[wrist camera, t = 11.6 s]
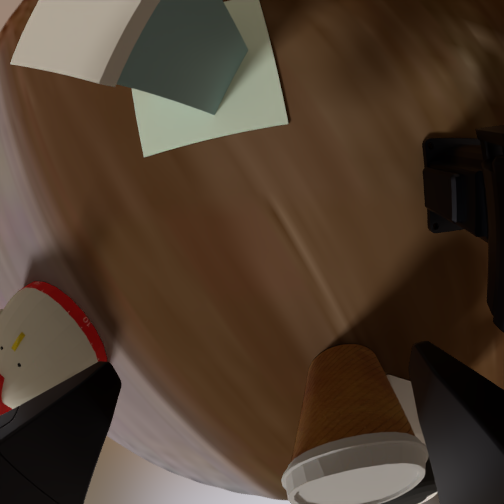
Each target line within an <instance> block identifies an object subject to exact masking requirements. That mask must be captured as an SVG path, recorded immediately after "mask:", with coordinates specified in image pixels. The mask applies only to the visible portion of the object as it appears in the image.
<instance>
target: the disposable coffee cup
mask: <svg viewBox="0 0 504 504" xmlns="http://www.w3.org/2000/svg"><path fill="white" fill-rule="evenodd" d="M428 457H429V455H428V451H427V447H426V446H425V444H424V443H422V442H421V441H420V440H419V439H418V438H417V437H416V436H415V434H414V432H413V429H412V427H411V425H410V423H409V421H408V418H407V416H406V415H405V412H404V410H403V408H402V406H401V404H400V402H399V400H398V398H397V397H396V394H395V392H394V390H393V388H392V386H391V384H390V382H389V381H388V378H387V376H386V374H385V372H384V371H383V368H382V367H381V364H380V363H379V361H378V359H377V356H376V355H375V354H374V352H373V351H372V350H370V349H369V348H367V347H365V346H362V345H357V344H343V345H338V346H334V347H332V348H329V349H327V350H326V351H324V352H322V353H321V354H319V355H318V356H317V357H316V358H315V359H314V360H313V361H312V363H311V365H310V367H309V370H308V375H307V382H306V387H305V393H304V399H303V405H302V410H301V415H300V421H299V426H298V431H297V436H296V441H295V446H294V450H293V455H292V460H291V463H290V464H289V466H288V468H287V470H286V471H285V472H284V474H283V476H282V480H281V481H282V485H283V487H284V488H285V489H286V491H287V496H288V500H289V501H290V503H291V504H381V503H384V502H387V501H390V500H392V499H395V498H397V497H399V496H401V495H403V494H404V493H406V492H408V491H410V490H411V489H412V488H414V487H415V486H417V485H418V484H419V483H420V482H421V480H422V479H423V478H424V476H425V468H426V462H427V460H428Z"/></svg>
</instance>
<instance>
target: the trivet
mask: <svg viewBox="0 0 504 504" xmlns="http://www.w3.org/2000/svg"><path fill="white" fill-rule="evenodd" d="M224 4H225V6H226V8H227V10H228V11H229V13H230V15H231V17H232V19H233V21H234V23H235V25H236V27H237V29H238V30H239V32H240V34H241V36H242V38H243V40H244V42H245V44H246V46H247V48H248V52H247V53H246V55H245V57H244V59H243V61H242V62H241V64H240V66H239V68H238V70H237V72H236V74H235V76H234V77H233V79H232V81H231V83H230V85H229V87H228V89H227V91H226V93H225V95H224V97H223V99H222V101H221V103H220V105H219V107H218V109H217V111H216V113H215V115H212V114H210V113H207V112H204V111H202V110H199V109H196V108H193V107H190V106H188V105H185V104H182V103H179V102H176V101H173V100H170V99H167V98H163V97H160V96H157V95H154V94H151V93H147V92H144V91H140V90H137V89H133V88H132V94H133V101H134V107H135V113H136V118H137V124H138V129H139V135H140V140H141V145H142V150H143V155H144V157H147V156H150V155H154V154H157V153H160V152H164V151H167V150H171V149H174V148H178V147H181V146H185V145H189V144H193V143H197V142H201V141H205V140H209V139H213V138H217V137H222V136H226V135H231V134H236V133H240V132H245V131H250V130H256V129H261V128H267V127H272V126H278V125H284V124H288V119H287V114H286V109H285V104H284V100H283V95H282V90H281V86H280V81H279V77H278V72H277V68H276V64H275V59H274V55H273V51H272V47H271V43H270V39H269V35H268V31H267V27H266V24H265V20H264V16H263V12H262V9H261V5H260V2H259V0H230V1H226V2H224Z"/></svg>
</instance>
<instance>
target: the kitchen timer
mask: <svg viewBox="0 0 504 504" xmlns="http://www.w3.org/2000/svg"><path fill="white" fill-rule="evenodd" d="M99 361H104V362H107V356H106V353H105V349H104V346H103V343H102V341H101V339H100V337H99V335H98V333H97V331H96V329H95V327H94V326H93V325H92V323H91V322H90V321H89V319H88V318H87V316H86V315H85V313H84V312H83V311H82V310H81V309H80V308H79V307H78V306H77V305H76V304H75V302H74V301H73V300H72V299H71V298H70V297H68V296H67V295H66V294H65V293H63V292H62V291H61V290H59V289H58V288H57V287H55V286H52V285H50V284H48V283H46V282H39V281H34V282H32V283H30V284H28V285H27V286H25V287H24V288H22V289H21V290H19V291H18V292H17V293H16V294H15V295H14V296H13V297H12V298H11V299H10V301H9V302H8V303H7V305H6V306H5V308H4V310H3V309H1V310H0V415H2V414H4V413H6V412H8V411H10V410H12V409H14V408H16V407H18V406H20V405H21V404H23V403H25V402H27V401H29V400H30V399H32V398H34V397H36V396H38V395H40V394H41V393H43V392H45V391H47V390H49V389H50V388H52V387H54V386H56V385H58V384H59V383H61V382H63V381H65V380H67V379H68V378H70V377H72V376H74V375H75V374H77V373H79V372H81V371H83V370H84V369H86V368H88V367H90V366H91V365H93V364H95V363H97V362H99Z"/></svg>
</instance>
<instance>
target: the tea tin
mask: <svg viewBox="0 0 504 504" xmlns="http://www.w3.org/2000/svg"><path fill="white" fill-rule="evenodd" d="M247 52H248V48H247V46H246V44H245V42H244V40H243V38H242V36H241V34H240V32H239V30H238V29H237V27H236V25H235V23H234V21H233V19H232V17H231V15H230V13H229V11H228V10H227V8H226V6H225V4H224V2H223V0H39V1H38V3H37V5H36V7H35V9H34V11H33V13H32V15H31V17H30V19H29V21H28V23H27V25H26V27H25V29H24V31H23V33H22V36H21V38H20V40H19V42H18V45H17V47H16V50H15V52H14V55H13V57H12V60H11V63H10V64H13V65H19V66H25V67H31V68H36V69H41V70H46V71H51V72H55V73H60V74H64V75H68V76H72V77H76V78H80V79H84V80H88V81H91V82H95V83H99V84H103V85H108V86H112V87H115V86H116V84H119V85H122V86H126V87H130V88H133V89H137V90H140V91H144V92H147V93H151V94H154V95H157V96H160V97H163V98H167V99H170V100H173V101H176V102H179V103H182V104H185V105H188V106H190V107H193V108H196V109H199V110H202V111H204V112H207V113H210V114H212V115H215V113H216V111H217V109H218V107H219V105H220V103H221V101H222V99H223V97H224V95H225V93H226V91H227V89H228V87H229V85H230V83H231V81H232V79H233V77H234V76H235V74H236V72H237V70H238V68H239V66H240V64H241V62H242V61H243V59H244V57H245V55H246V53H247Z"/></svg>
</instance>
